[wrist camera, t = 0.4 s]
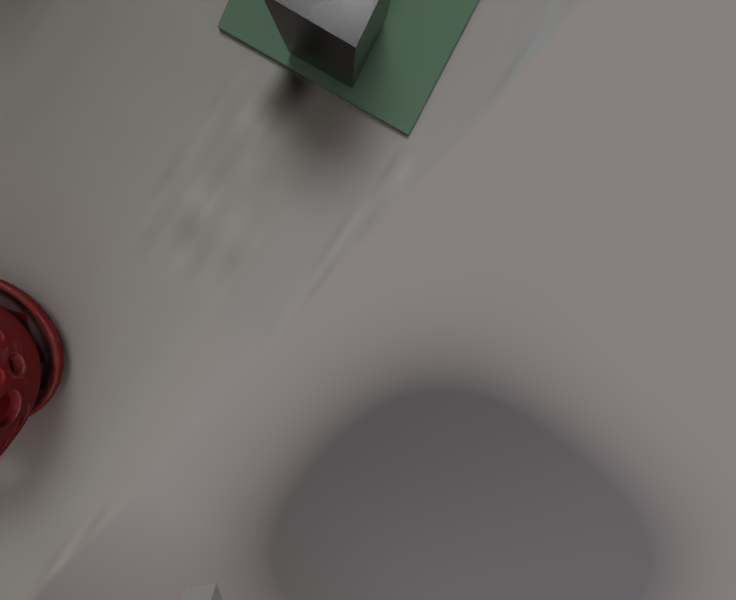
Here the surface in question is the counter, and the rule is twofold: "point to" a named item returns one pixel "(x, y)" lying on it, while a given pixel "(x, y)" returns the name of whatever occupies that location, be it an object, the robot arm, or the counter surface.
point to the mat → (372, 54)
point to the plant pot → (25, 360)
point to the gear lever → (330, 32)
